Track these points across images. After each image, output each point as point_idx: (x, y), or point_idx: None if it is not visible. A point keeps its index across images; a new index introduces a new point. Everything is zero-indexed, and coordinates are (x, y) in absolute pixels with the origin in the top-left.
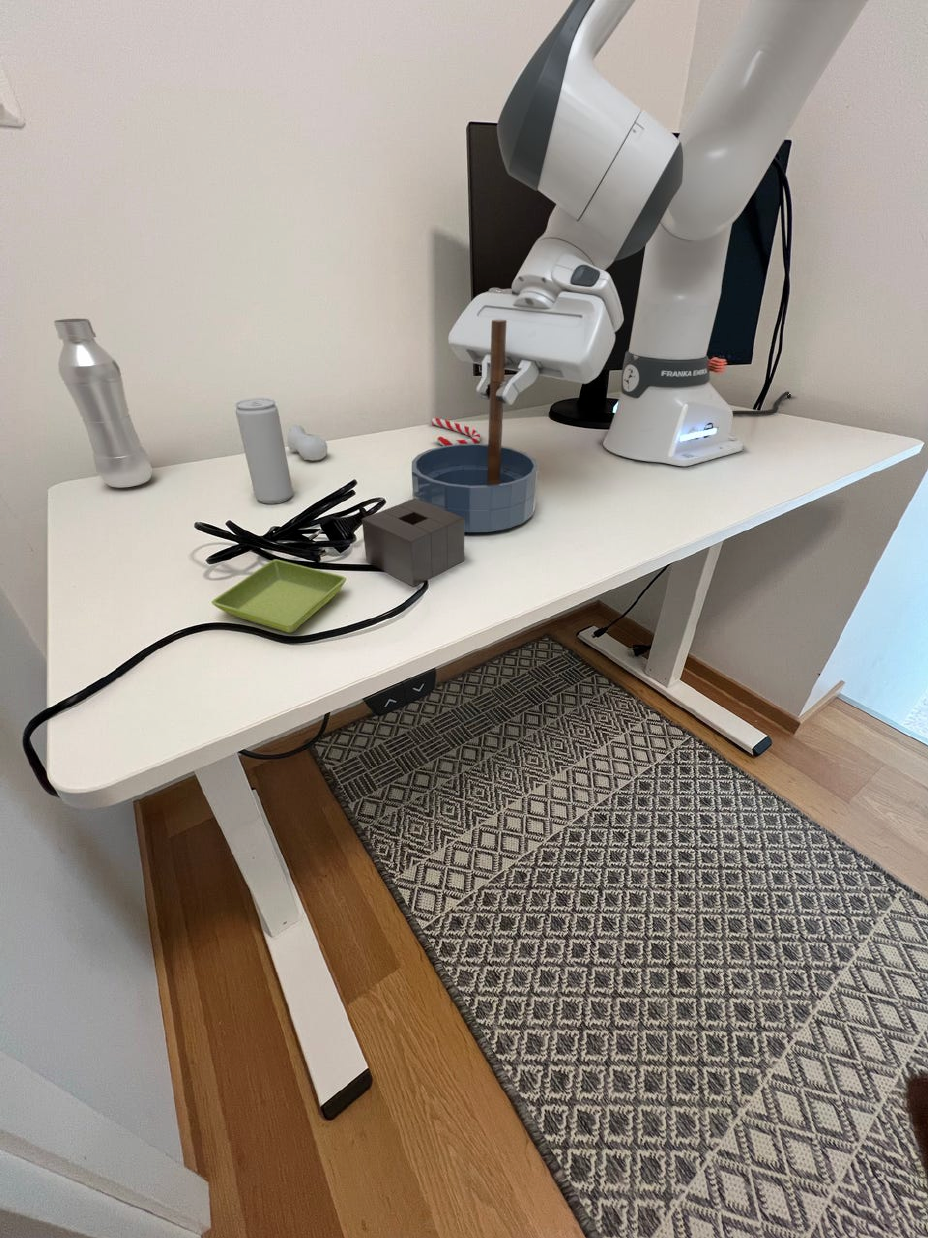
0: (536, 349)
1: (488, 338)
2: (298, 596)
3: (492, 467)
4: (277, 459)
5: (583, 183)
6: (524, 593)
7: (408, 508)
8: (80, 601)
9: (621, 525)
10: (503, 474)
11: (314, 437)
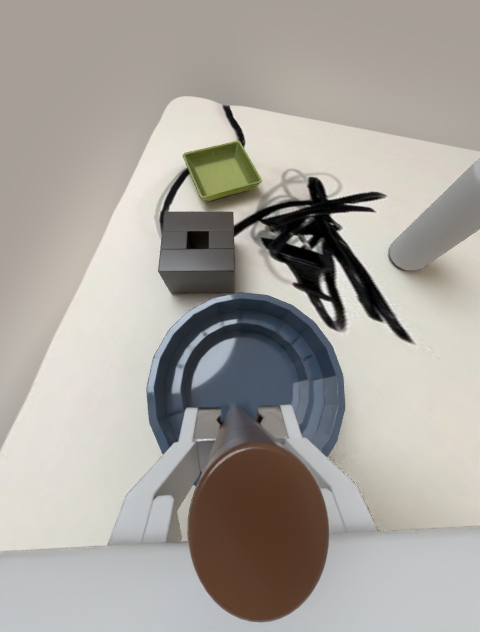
0: (47, 597)
1: (446, 612)
2: (221, 185)
3: (231, 407)
4: (421, 226)
5: None
6: (96, 290)
7: (218, 249)
8: (311, 125)
9: (63, 500)
10: None
11: None
